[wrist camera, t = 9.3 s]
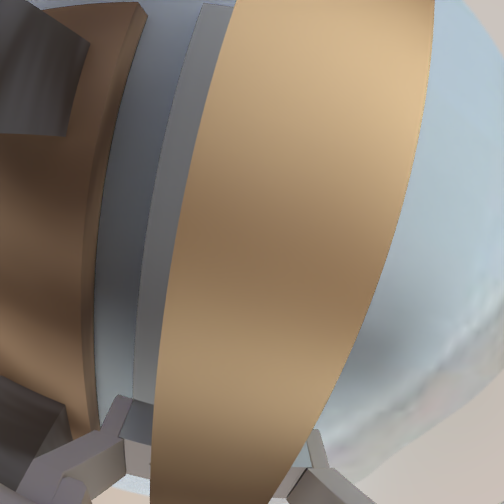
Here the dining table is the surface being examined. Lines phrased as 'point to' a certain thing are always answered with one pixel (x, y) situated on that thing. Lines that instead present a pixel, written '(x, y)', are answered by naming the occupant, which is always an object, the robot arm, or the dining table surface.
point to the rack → (53, 213)
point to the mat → (173, 191)
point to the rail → (282, 235)
